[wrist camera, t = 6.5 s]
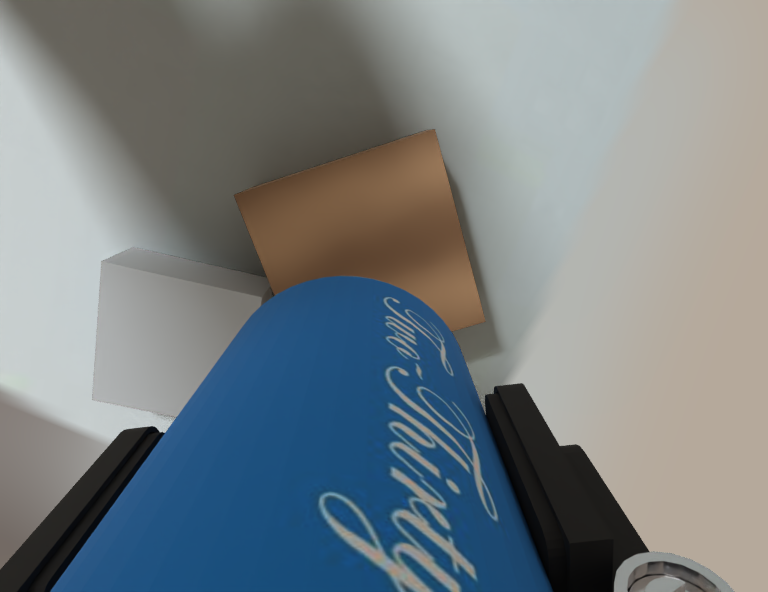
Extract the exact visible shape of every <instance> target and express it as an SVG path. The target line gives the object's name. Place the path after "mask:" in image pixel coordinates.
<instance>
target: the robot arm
mask: <svg viewBox="0 0 768 592" xmlns="http://www.w3.org/2000/svg"><path fill="white" fill-rule="evenodd" d="M485 407H486V417H487V420H488V423H489V425H490V428H491V430H492V433H493V436H494V438H495V441H496V443H497V446H498V449H499V451H500V454H501V457H502V459H503V462H504V464H505V467H506V470H507V472H508V475H509V477H510V480H511V483H512V485H513V488H514V490H515V493H516V496H517V498H518V501H519V504H520V506H521V509H522V511H523V514H524V517H525V519H526V522H527V524H528V527H529V530H530V532H531V535H532V537H533V540H534V543H535V545H536V548H537V551H538V553H539V556H540V558H541V561H542V564H543V566H544V569H545V571H546V574H547V577H548V579H549V582H550V584H551V587H552V590H553V592H734V591H733V589H732V588H731V587H730V586H729V585H728V584H727V582H725V581H724V580H723V579H722V578H720V577H719V576H718V575H716V574H715V573H714V572H713V571H711V570H710V569H708V568H706V567H704V566H702V565H700V564H699V563H697V562H695V561H693V560H691V559H688V558H685V557H681V556H678V555H675V554H672V553H662V552H649V550H648V549H647V547H646V546H645V544H644V543H643V541H642V540H641V538H640V536H639V535H638V534H637V532H636V530H635V529H634V528H633V526H632V524H631V523H630V521H629V520H628V518H627V517H626V515H625V514H624V512H623V510H622V509H621V507H620V506H619V504H618V503H617V501H616V500H615V498H614V497H613V495H612V493H611V492H610V490H609V489H608V487H607V486H606V484H605V483H604V481H603V480H602V478H601V477H600V475H599V473H598V472H597V470H596V469H595V467H594V466H593V464H592V463H591V461H590V460H589V458H588V457H587V455H586V454H585V452H584V451H583V449H581V447H580V446H578V445H567V446H559V444H558V443H557V441H556V439H555V437H554V436H553V434H552V432H551V430H550V429H549V427H548V425H547V424H546V422H545V420H544V419H543V417H542V415H541V413H540V412H539V410H538V408H537V406H536V405H535V403H534V402H533V400H532V398H531V396H530V394H529V393H528V391H527V389H526V388H525V386H524V385H523V384H522V383H520V384H512V385H503V386H495V387H494V394H488V395H485ZM164 434H165V433H163V432H159V430H158V429H157V428H156V427H153V426H151V427H142V428H134V429H126V430H123V431H122V432H121V433H120V434H119V435H118V436H117V437H116V439H115V440H114V441H113V442H112V443H111V444H110V445H109V446H108V448H107V449H106V450H105V451H104V452H103V453H102V454H101V456H100V457H99V458H98V459H97V460H96V461H95V462H94V464H93V465H92V466H91V467H90V468H89V469H88V471H87V472H86V473H85V474H84V475H83V476H82V477H81V478H80V480H79V481H78V482H77V483H76V484H75V485H74V486H73V488H72V489H71V490H70V491H69V492H68V493H67V494H66V496H65V497H64V498H63V499H62V500H61V501H60V503H59V504H58V505H57V506H56V507H55V508H54V509H53V510H52V511H51V513H50V514H49V515H48V516H47V517H46V518H45V520H44V521H43V522H42V523H41V524H40V525H39V526H38V527H37V529H36V530H35V531H34V532H33V533H32V534H31V535H30V536H29V538H28V539H27V540H26V541H25V542H24V543H23V544H22V546H21V547H20V548H19V549H18V550H17V551H16V553H15V554H14V555H13V556H12V557H11V558H10V559H9V561H8V562H7V563H6V564H5V565H4V566H3V567H2V568H1V570H0V592H50V591H51V590H52V588H53V587H54V585H55V584H56V583H57V581H58V580H59V579H60V577H61V576H62V574H63V573H64V572H65V570H66V569H67V568H68V566H69V565H70V563H71V562H72V561H73V559H74V558H75V557H76V555H77V554H78V552H79V551H80V550H81V548H82V547H83V546H84V544H85V543H86V541H87V540H88V539H89V537H90V536H91V535H92V533H93V532H94V530H95V529H96V528H97V526H98V525H99V523H100V522H101V521H102V519H103V518H104V517H105V515H106V514H107V512H108V511H109V510H110V508H111V507H112V506H113V504H114V503H115V501H116V500H117V499H118V497H119V496H120V495H121V493H122V492H123V490H124V489H125V488H126V486H127V485H128V484H129V482H130V481H131V479H132V478H133V477H134V475H135V474H136V473H137V471H138V470H139V468H140V467H141V466H142V464H143V463H144V462H145V460H146V459H147V457H148V456H149V455H150V453H151V452H152V450H153V449H154V448H155V446H156V445H157V444H158V442H159V441H160V439H161V438H162V437H163V435H164Z"/></svg>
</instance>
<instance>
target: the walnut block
mask: <svg viewBox="0 0 768 592" xmlns="http://www.w3.org/2000/svg"><path fill="white" fill-rule="evenodd" d="M234 197H235V200H236V202H237V204H238V207H239V209H240V212H241V214H242V217H243V219H244V222H245V224H246V227H247V229H248V232H249V234H250V236H251V239H252V241H253V244H254V246H255V249H256V251H257V254H258V256H259V259H260V261H261V264H262V266H263V269H264V271H265V273H266V276H267V278H268V281H269V283H270V286H271V288H272V291H273V293H274V296H275V295H276V294H278V293H280V292H282V291H284V290H286V289H288V288H290V287H292V286H295V285H297V284H300V283H303V282H306V281H310V280H314V279H318V278H323V277H333V276H358V277H364V278H370V279H375V280H379V281H382V282H386V283H389V284H392V285H394V286H396V287H399V288H401V289H403V290H405V291H407V292H409V293H410V294H412V295H414V296H415V297H417V298H419V299H420V300H422V301H423V302H424V303H425V304H427V305H428V306H429V307H430V308H432V309H433V310H434V311H435V312H436V313H437V314H438V316H439V317H440V318H441V319H442V320H443V321H444V322H445V324H446V325H447V326H448V328H449V329H450V331H451V332H452V331H455V330H458V329H462V328H465V327H469V326H472V325H476V324H479V323H482V322H486V321H485V318H484V314H483V310H482V306H481V302H480V299H479V295H478V291H477V287H476V283H475V280H474V276H473V272H472V268H471V264H470V261H469V257H468V253H467V249H466V245H465V242H464V238H463V234H462V230H461V227H460V223H459V219H458V215H457V211H456V208H455V204H454V200H453V196H452V192H451V189H450V185H449V181H448V177H447V173H446V170H445V166H444V162H443V158H442V154H441V151H440V147H439V143H438V139H437V136H436V132H435V129H432V130H426V131H423V132H420V133H416V134H413V135H410V136H407V137H404V138H401V139H398V140H395V141H392V142H389V143H386V144H383V145H380V146H377V147H374V148H371V149H368V150H365V151H362V152H358V153H355V154H352V155H349V156H346V157H343V158H340V159H337V160H334V161H331V162H328V163H325V164H322V165H319V166H316V167H313V168H310V169H307V170H304V171H300V172H297V173H294V174H291V175H288V176H285V177H282V178H279V179H276V180H273V181H270V182H267V183H264V184H261V185H258V186H255V187H252V188H249V189H247V190H245V191H242V192H240V193H237V194H235V195H234Z"/></svg>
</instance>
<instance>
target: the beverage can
mask: <svg viewBox="0 0 768 592" xmlns="http://www.w3.org/2000/svg"><path fill="white" fill-rule="evenodd" d="M50 592H553V590H552V587H551V584H550V582H549V579H548V577H547V574H546V571H545V569H544V566H543V564H542V561H541V558H540V556H539V553H538V551H537V548H536V545H535V543H534V540H533V537H532V535H531V532H530V530H529V527H528V524H527V522H526V519H525V517H524V514H523V511H522V509H521V506H520V504H519V501H518V498H517V496H516V493H515V490H514V488H513V485H512V483H511V480H510V477H509V475H508V472H507V470H506V467H505V464H504V462H503V459H502V457H501V454H500V451H499V449H498V446H497V443H496V441H495V438H494V436H493V433H492V430H491V428H490V425H489V423H488V420H487V417H486V415H485V412H484V410H483V407H482V404H481V402H480V399H479V396H478V394H477V391H476V389H475V386H474V383H473V381H472V378H471V376H470V373H469V370H468V368H467V365H466V363H465V360H464V357H463V355H462V352H461V349H460V347H459V345H458V343H457V341H456V339H455V337H454V335H453V333H452V332H451V331H450V329H449V328H448V326H447V325H446V324H445V322H444V321H443V320H442V319H441V318H440V317H439V316H438V314H437V313H436V312H435V311H434V310H433V309H432V308H430V307H429V306H428V305H427V304H425V303H424V302H423V301H422V300H420V299H419V298H417V297H415V296H414V295H412V294H410V293H409V292H407V291H405V290H403V289H401V288H399V287H396V286H394V285H392V284H389V283H386V282H382V281H379V280H375V279H370V278H364V277H358V276H333V277H323V278H318V279H314V280H310V281H306V282H303V283H300V284H297V285H295V286H292V287H290V288H288V289H286V290H284V291H282V292H280V293H278V294H276V295H275V296H274V297H272V298H271V299H269V300H268V301H267V302H265V303H264V304H263V305H262V306H260V307H259V308H258V309H257V310H256V311H255V312H254V313H253V314H252V315H251V316H250V318H249V319H248V320H247V321H246V323H245V324H244V325H243V327H242V328H241V329H240V331H239V332H238V333H237V335H236V336H235V338H234V339H233V340H232V342H231V343H230V344H229V346H228V347H227V349H226V350H225V351H224V353H223V354H222V355H221V357H220V358H219V360H218V361H217V362H216V364H215V365H214V366H213V368H212V369H211V371H210V372H209V373H208V375H207V376H206V377H205V379H204V380H203V382H202V383H201V384H200V386H199V387H198V388H197V390H196V391H195V393H194V394H193V395H192V397H191V398H190V400H189V401H188V402H187V404H186V405H185V406H184V408H183V409H182V411H181V412H180V413H179V415H178V416H177V417H176V419H175V420H174V422H173V423H172V424H171V426H170V427H169V428H168V430H167V431H166V433H165V434H164V435H163V437H162V438H161V439H160V441H159V442H158V444H157V445H156V446H155V448H154V449H153V450H152V452H151V453H150V455H149V456H148V457H147V459H146V460H145V462H144V463H143V464H142V466H141V467H140V468H139V470H138V471H137V473H136V474H135V475H134V477H133V478H132V479H131V481H130V482H129V484H128V485H127V486H126V488H125V489H124V490H123V492H122V493H121V495H120V496H119V497H118V499H117V500H116V501H115V503H114V504H113V506H112V507H111V508H110V510H109V511H108V512H107V514H106V515H105V517H104V518H103V519H102V521H101V522H100V523H99V525H98V526H97V528H96V529H95V530H94V532H93V533H92V535H91V536H90V537H89V539H88V540H87V541H86V543H85V544H84V546H83V547H82V548H81V550H80V551H79V552H78V554H77V555H76V557H75V558H74V559H73V561H72V562H71V563H70V565H69V566H68V568H67V569H66V570H65V572H64V573H63V574H62V576H61V577H60V579H59V580H58V581H57V583H56V584H55V585H54V587H53V588H52V590H51V591H50Z"/></svg>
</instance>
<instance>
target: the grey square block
mask: <svg viewBox="0 0 768 592" xmlns="http://www.w3.org/2000/svg"><path fill="white" fill-rule="evenodd" d="M272 293H273V291H272V288H271V286H270V283H269V281H268V278H267V277H262V276H258V275H254V274H249V273H245V272H240V271H236V270H232V269H227V268H223V267H219V266H214V265H210V264H205V263H201V262H197V261H192V260H188V259H184V258H179V257H175V256H170V255H166V254H162V253H157V252H153V251H149V250H144V249H140V248H135V247H132V248H130V249H127V250H125V251H123V252H121V253H119V254H116V255H114V256H112V257H110V258H108V259H105V260H103V261H101V275H100V289H99V304H98V319H97V334H96V349H95V364H94V379H93V394H92V400H94V401H99V402H104V403H109V404H114V405H119V406H124V407H129V408H134V409H139V410H144V411H149V412H154V413H159V414H163V415H168V416H173V417H177V416H178V415H179V413H180V412H181V411H182V409H183V408H184V406H185V405H186V404H187V402H188V401H189V400H190V398H191V397H192V395H193V394H194V393H195V391H196V390H197V388H198V387H199V386H200V384H201V383H202V382H203V380H204V379H205V377H206V376H207V375H208V373H209V372H210V371H211V369H212V368H213V366H214V365H215V364H216V362H217V361H218V360H219V358H220V357H221V355H222V354H223V353H224V351H225V350H226V349H227V347H228V346H229V344H230V343H231V342H232V340H233V339H234V338H235V336H236V335H237V333H238V332H239V331H240V329H241V328H242V327H243V325H244V324H245V323H246V321H247V320H248V319H249V318H250V316H251V315H252V314H253V313H254V312H255V311H256V310H257V309H258V308H259V307H260V306H262V305H263V304H264V303H265V302H267V301H268V300H269V299H271V298H272Z"/></svg>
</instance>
